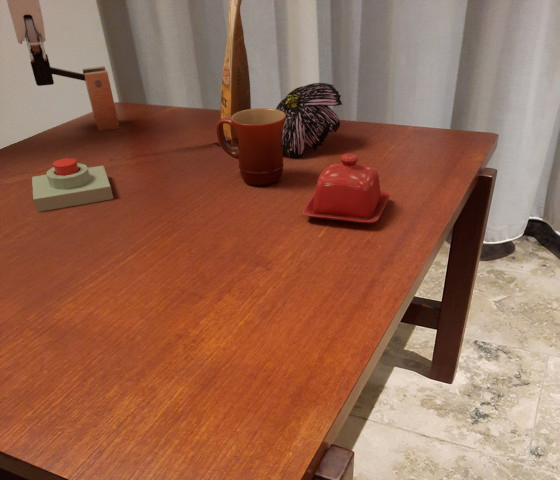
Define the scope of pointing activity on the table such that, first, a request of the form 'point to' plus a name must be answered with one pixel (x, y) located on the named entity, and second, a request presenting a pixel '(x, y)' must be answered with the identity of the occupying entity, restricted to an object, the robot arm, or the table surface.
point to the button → (65, 166)
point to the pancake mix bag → (235, 72)
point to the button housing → (71, 188)
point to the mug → (256, 144)
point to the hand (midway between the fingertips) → (44, 80)
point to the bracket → (101, 98)
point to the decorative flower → (308, 117)
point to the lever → (68, 73)
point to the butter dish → (348, 193)
